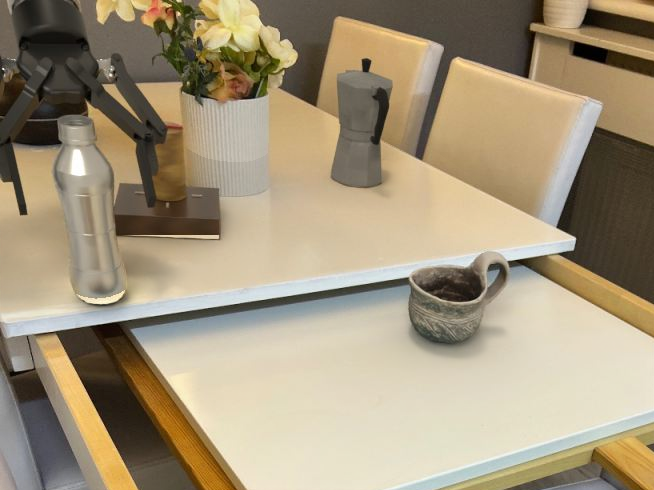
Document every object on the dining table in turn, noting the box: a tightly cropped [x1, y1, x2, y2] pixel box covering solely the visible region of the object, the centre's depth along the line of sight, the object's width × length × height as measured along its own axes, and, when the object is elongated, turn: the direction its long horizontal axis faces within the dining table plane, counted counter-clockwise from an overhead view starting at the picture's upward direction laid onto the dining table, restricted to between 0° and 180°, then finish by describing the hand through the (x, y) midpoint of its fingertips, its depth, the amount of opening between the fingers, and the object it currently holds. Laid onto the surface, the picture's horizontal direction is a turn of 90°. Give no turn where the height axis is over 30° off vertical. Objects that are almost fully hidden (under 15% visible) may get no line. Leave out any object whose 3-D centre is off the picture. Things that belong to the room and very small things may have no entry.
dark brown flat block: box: [114, 182, 221, 236], centre depth 111 cm, size 14×12×3 cm
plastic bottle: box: [51, 114, 128, 299], centre depth 87 cm, size 6×7×20 cm
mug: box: [407, 250, 511, 344], centre depth 94 cm, size 10×12×10 cm
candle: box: [152, 120, 187, 201], centre depth 108 cm, size 5×5×9 cm
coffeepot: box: [330, 57, 394, 189], centre depth 125 cm, size 15×9×18 cm, turn 24°
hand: (89, 206), depth 86 cm, fingers open, 13 cm apart
